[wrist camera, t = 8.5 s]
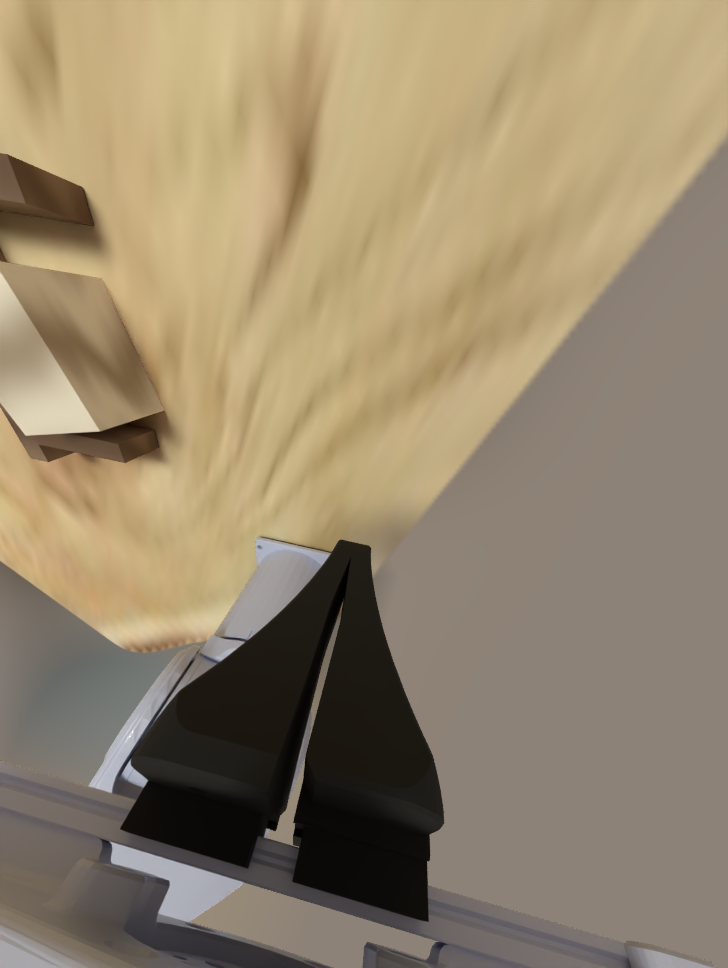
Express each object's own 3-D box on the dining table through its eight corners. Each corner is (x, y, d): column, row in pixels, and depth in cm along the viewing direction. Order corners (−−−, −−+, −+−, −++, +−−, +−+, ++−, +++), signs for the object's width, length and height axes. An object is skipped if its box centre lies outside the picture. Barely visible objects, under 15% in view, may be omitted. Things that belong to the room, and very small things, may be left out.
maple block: (166, 409, 20) (100, 431, 16) (103, 414, 21) (25, 435, 17) (104, 278, 16) (-7, 260, 12) (31, 293, 17) (-96, 280, 13)
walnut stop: (163, 463, 22) (131, 480, 20) (73, 443, 23) (30, 458, 20) (69, 143, 13) (-15, 97, 10) (-82, 122, 13) (-198, 73, 11)
